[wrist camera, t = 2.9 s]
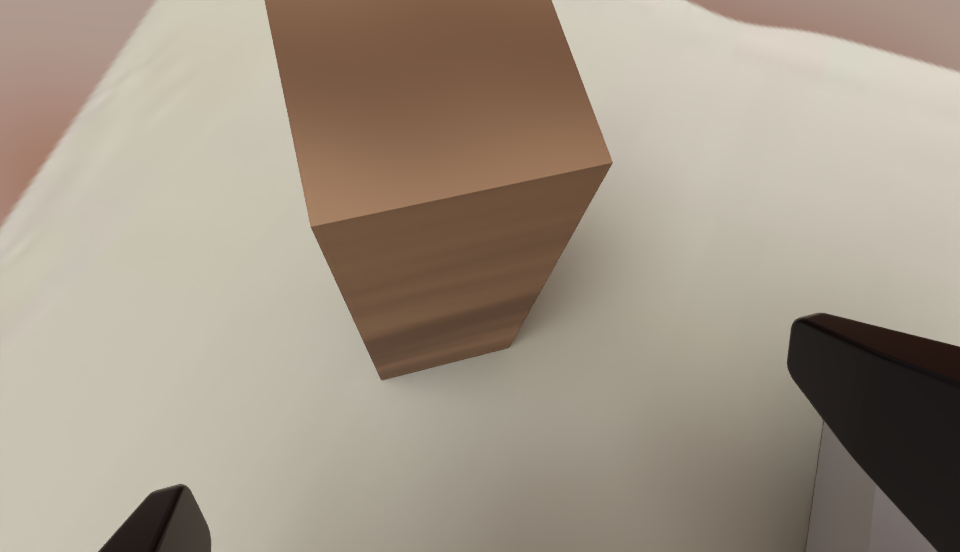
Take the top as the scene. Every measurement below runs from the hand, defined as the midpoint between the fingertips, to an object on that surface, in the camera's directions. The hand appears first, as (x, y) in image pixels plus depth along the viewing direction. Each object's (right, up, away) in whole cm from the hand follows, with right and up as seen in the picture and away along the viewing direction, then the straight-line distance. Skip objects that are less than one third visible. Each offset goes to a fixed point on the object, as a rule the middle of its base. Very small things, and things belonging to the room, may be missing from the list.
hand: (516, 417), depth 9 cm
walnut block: (-2, +1, +13) cm, 13 cm away
